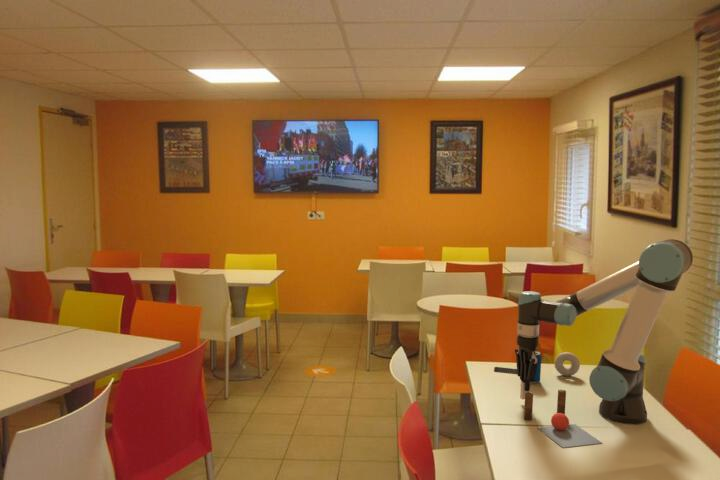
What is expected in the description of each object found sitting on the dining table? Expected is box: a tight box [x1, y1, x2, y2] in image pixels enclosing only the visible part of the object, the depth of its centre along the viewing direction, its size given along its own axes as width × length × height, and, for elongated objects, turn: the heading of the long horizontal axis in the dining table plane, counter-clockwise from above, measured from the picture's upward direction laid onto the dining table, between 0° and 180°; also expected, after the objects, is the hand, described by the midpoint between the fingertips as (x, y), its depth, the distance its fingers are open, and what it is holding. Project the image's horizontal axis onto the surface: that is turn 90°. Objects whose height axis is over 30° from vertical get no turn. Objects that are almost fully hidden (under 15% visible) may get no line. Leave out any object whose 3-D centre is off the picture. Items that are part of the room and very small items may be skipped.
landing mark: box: [537, 423, 603, 449], centre depth 183 cm, size 14×14×1 cm
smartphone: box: [493, 366, 517, 375], centre depth 244 cm, size 7×1×14 cm
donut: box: [554, 351, 581, 377], centre depth 239 cm, size 10×4×10 cm, turn 75°
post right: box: [556, 389, 567, 415], centre depth 198 cm, size 3×3×9 cm
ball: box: [550, 412, 570, 431], centre depth 187 cm, size 6×6×6 cm
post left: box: [523, 391, 534, 422], centre depth 194 cm, size 3×3×9 cm
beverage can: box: [530, 350, 542, 385], centre depth 231 cm, size 6×6×12 cm
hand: (524, 398), depth 209 cm, fingers closed
